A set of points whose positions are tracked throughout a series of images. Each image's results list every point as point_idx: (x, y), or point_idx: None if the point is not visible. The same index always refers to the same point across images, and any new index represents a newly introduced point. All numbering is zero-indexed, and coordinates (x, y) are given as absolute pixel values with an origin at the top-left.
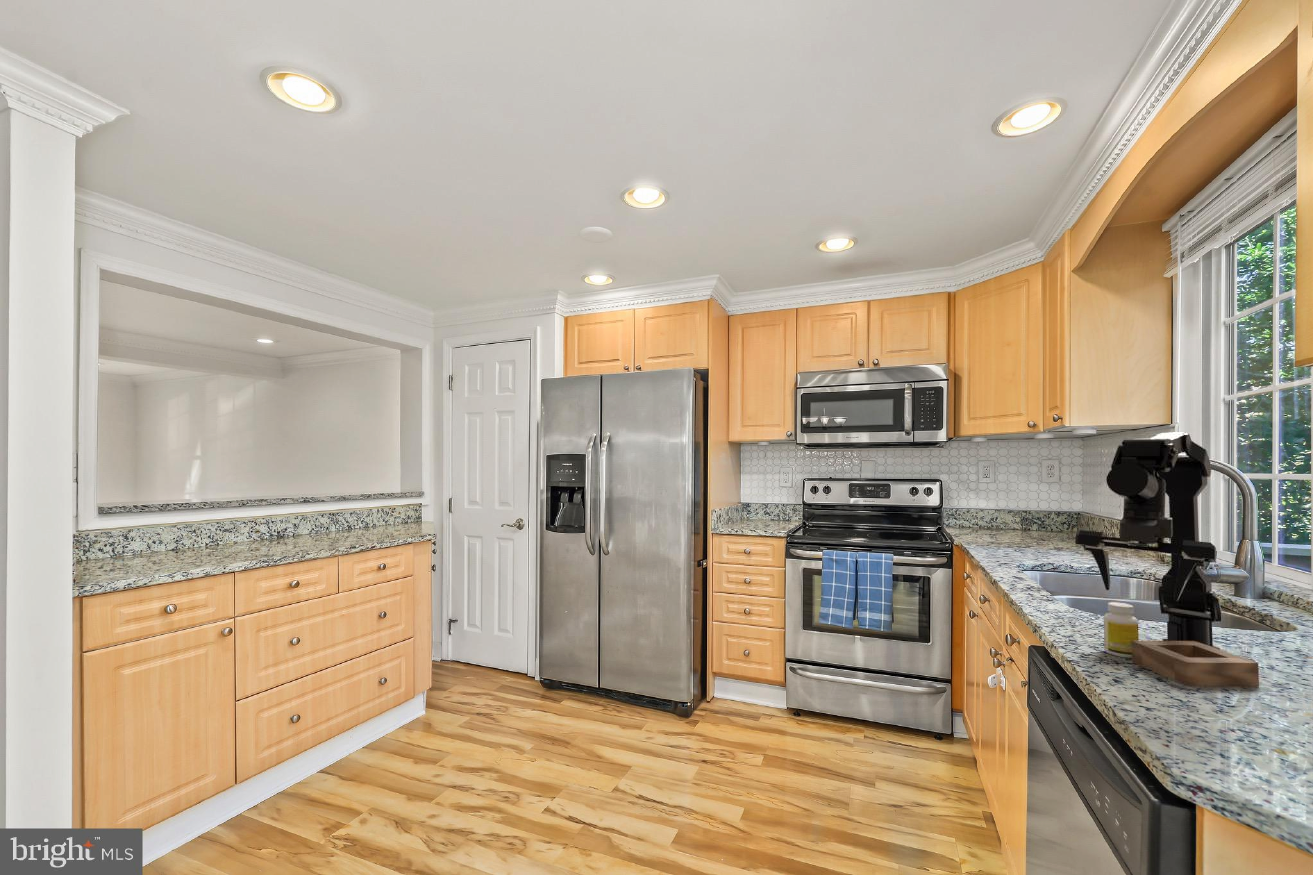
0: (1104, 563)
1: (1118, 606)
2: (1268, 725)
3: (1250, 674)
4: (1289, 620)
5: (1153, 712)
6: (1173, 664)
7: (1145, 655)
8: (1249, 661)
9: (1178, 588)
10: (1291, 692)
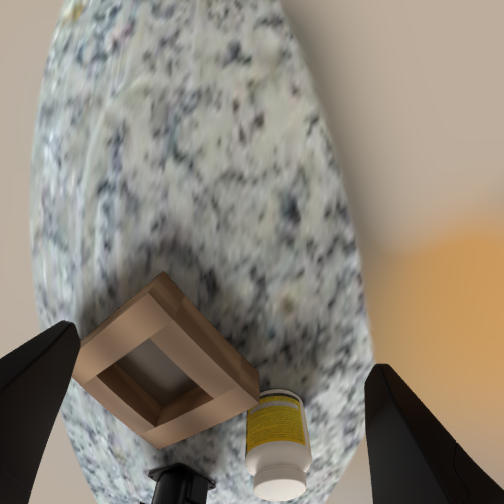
0: (455, 489)
1: (286, 478)
2: (64, 119)
3: None
4: None
5: (227, 39)
6: (179, 313)
7: (234, 365)
8: None
9: (24, 352)
10: None
